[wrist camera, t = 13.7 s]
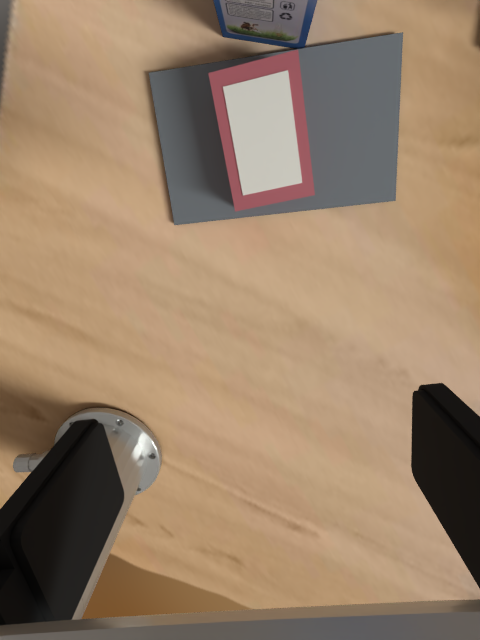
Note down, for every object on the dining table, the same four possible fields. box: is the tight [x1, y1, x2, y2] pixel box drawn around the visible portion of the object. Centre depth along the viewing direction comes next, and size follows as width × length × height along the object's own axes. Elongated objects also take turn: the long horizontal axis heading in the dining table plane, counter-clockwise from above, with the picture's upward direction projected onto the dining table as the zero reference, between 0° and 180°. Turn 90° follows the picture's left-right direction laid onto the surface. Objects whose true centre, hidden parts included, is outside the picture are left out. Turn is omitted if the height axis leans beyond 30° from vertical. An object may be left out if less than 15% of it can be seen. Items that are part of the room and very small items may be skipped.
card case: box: [208, 50, 315, 211], centre depth 26 cm, size 9×6×4 cm, turn 11°
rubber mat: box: [149, 32, 403, 225], centre depth 28 cm, size 19×12×1 cm, turn 96°
